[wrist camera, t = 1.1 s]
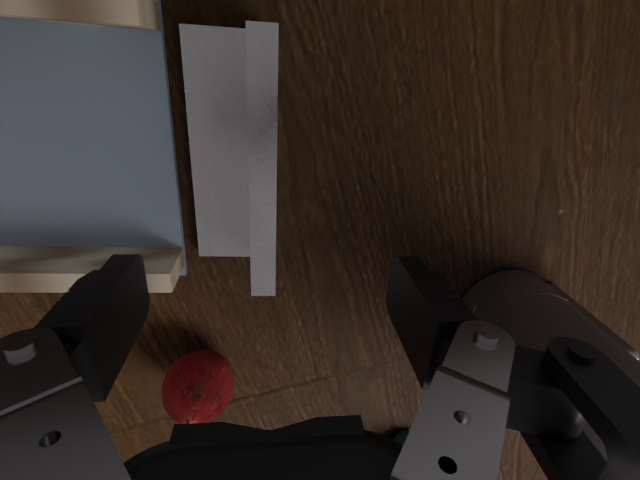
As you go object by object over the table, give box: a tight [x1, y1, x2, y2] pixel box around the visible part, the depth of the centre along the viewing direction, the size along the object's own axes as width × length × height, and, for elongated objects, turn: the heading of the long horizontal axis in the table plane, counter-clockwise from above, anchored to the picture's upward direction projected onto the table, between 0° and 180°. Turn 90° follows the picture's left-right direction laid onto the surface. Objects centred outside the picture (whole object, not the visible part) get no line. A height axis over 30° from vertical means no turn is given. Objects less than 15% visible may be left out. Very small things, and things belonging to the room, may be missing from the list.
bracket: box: [179, 21, 279, 296], centre depth 24 cm, size 16×6×7 cm, turn 176°
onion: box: [162, 349, 234, 424], centre depth 31 cm, size 6×6×8 cm
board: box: [0, 0, 187, 276], centre depth 25 cm, size 20×20×1 cm
